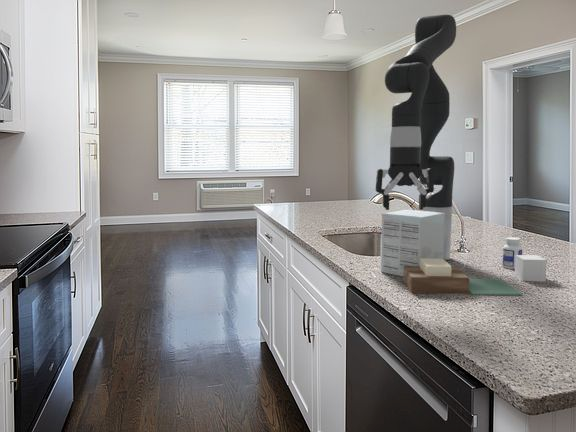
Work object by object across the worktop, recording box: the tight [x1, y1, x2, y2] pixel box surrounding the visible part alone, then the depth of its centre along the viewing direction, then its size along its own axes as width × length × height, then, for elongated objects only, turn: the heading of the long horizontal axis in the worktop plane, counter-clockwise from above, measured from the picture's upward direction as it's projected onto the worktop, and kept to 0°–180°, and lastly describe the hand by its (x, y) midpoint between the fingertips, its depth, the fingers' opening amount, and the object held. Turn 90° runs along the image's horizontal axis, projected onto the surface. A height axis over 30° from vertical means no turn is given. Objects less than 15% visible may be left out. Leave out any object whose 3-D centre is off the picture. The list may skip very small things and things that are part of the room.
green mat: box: [469, 278, 523, 296], centre depth 128 cm, size 14×12×1 cm
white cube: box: [514, 254, 548, 282], centre depth 136 cm, size 6×6×6 cm
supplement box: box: [380, 209, 445, 277], centre depth 144 cm, size 13×13×18 cm
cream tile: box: [420, 259, 453, 276], centre depth 128 cm, size 9×6×2 cm, turn 176°
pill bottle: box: [502, 237, 523, 270], centre depth 149 cm, size 5×5×9 cm
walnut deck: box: [402, 266, 470, 295], centre depth 128 cm, size 12×14×4 cm
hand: (403, 209), depth 126 cm, fingers open, 8 cm apart
